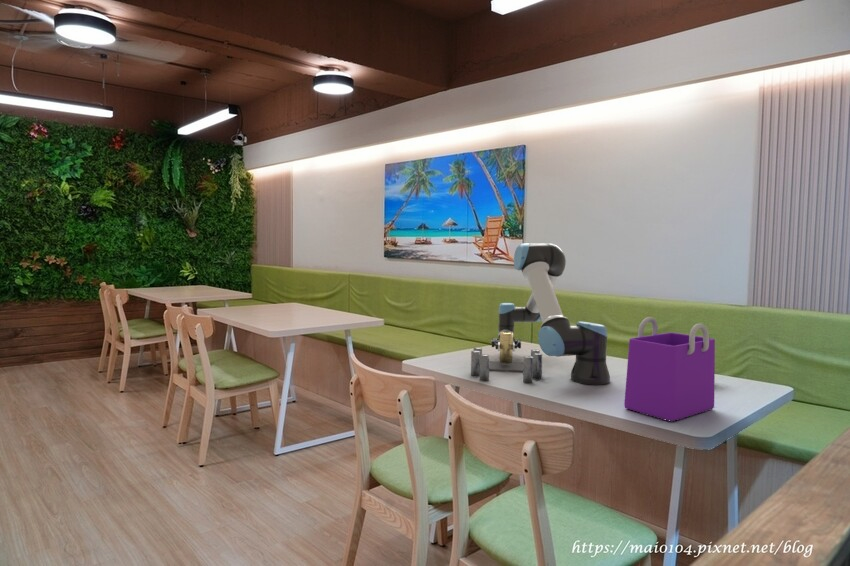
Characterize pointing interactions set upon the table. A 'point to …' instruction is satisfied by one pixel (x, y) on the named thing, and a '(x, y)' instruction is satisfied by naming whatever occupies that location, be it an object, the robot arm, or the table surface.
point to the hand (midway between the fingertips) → (506, 348)
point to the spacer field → (530, 367)
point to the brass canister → (506, 347)
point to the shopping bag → (670, 373)
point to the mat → (506, 366)
